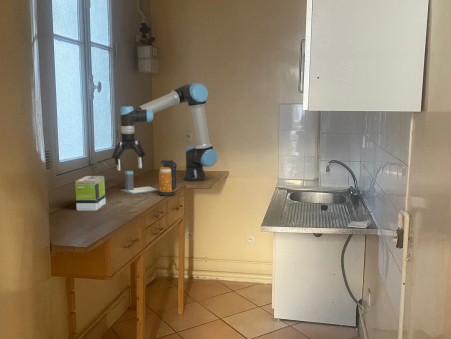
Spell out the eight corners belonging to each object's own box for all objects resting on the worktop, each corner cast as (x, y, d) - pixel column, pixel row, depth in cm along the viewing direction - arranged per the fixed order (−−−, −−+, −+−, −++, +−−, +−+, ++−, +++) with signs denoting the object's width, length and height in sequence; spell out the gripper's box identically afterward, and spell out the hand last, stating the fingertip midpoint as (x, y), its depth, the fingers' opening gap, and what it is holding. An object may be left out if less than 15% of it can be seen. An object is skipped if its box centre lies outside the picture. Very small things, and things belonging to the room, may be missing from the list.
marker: (131, 189, 263) (130, 170, 261) (133, 189, 260) (133, 171, 258) (125, 189, 260) (124, 171, 259) (128, 190, 258) (127, 172, 256)
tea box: (86, 203, 224) (85, 175, 222) (106, 204, 224) (105, 175, 222) (75, 210, 210) (74, 180, 208) (96, 210, 209) (95, 180, 207)
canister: (166, 192, 255) (166, 158, 252) (181, 194, 248) (180, 159, 245) (155, 195, 247) (155, 159, 245) (170, 197, 241) (169, 161, 238)
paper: (149, 186, 274) (149, 185, 274) (162, 190, 261) (162, 189, 261) (119, 190, 262) (119, 189, 262) (131, 194, 249) (131, 193, 249)
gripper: (110, 134, 245) (112, 172, 248) (150, 132, 260) (151, 167, 263) (104, 134, 251) (106, 170, 254) (144, 131, 266) (145, 166, 269)
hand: (129, 169), depth 259 cm, fingers open, 13 cm apart
